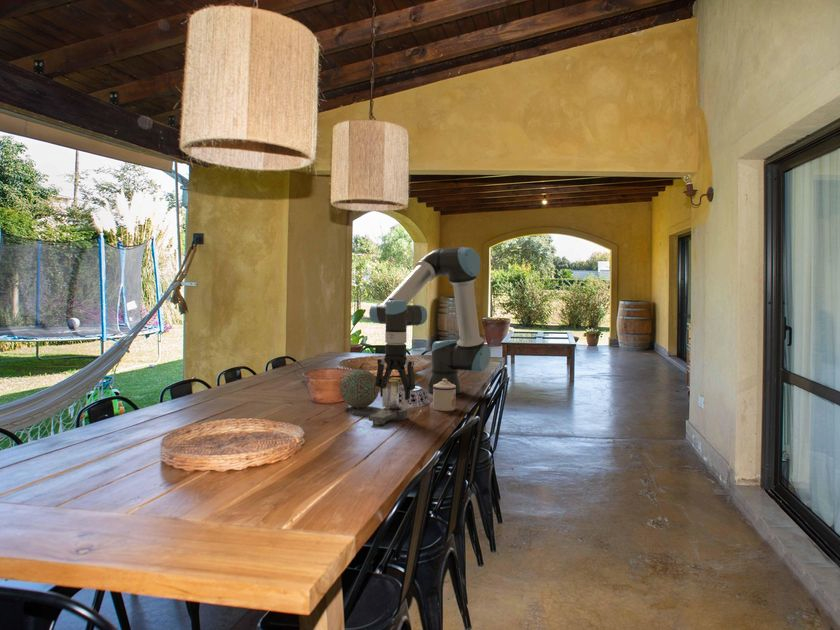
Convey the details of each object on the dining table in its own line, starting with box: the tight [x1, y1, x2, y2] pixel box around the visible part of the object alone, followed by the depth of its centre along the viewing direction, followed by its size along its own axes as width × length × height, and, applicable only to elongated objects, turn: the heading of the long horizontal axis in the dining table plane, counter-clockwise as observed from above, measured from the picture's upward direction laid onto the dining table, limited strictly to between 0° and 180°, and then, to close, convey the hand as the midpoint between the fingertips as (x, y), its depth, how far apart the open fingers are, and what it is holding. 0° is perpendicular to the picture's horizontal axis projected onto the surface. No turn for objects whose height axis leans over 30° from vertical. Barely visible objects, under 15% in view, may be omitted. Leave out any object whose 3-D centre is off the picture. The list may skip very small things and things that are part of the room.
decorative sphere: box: [339, 368, 380, 409], centre depth 229 cm, size 15×15×15 cm
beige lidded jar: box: [432, 379, 457, 412], centre depth 230 cm, size 12×9×12 cm
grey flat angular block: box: [351, 406, 408, 427], centre depth 211 cm, size 18×20×3 cm
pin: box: [387, 376, 402, 410], centre depth 212 cm, size 5×5×14 cm
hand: (394, 407), depth 213 cm, fingers open, 7 cm apart
